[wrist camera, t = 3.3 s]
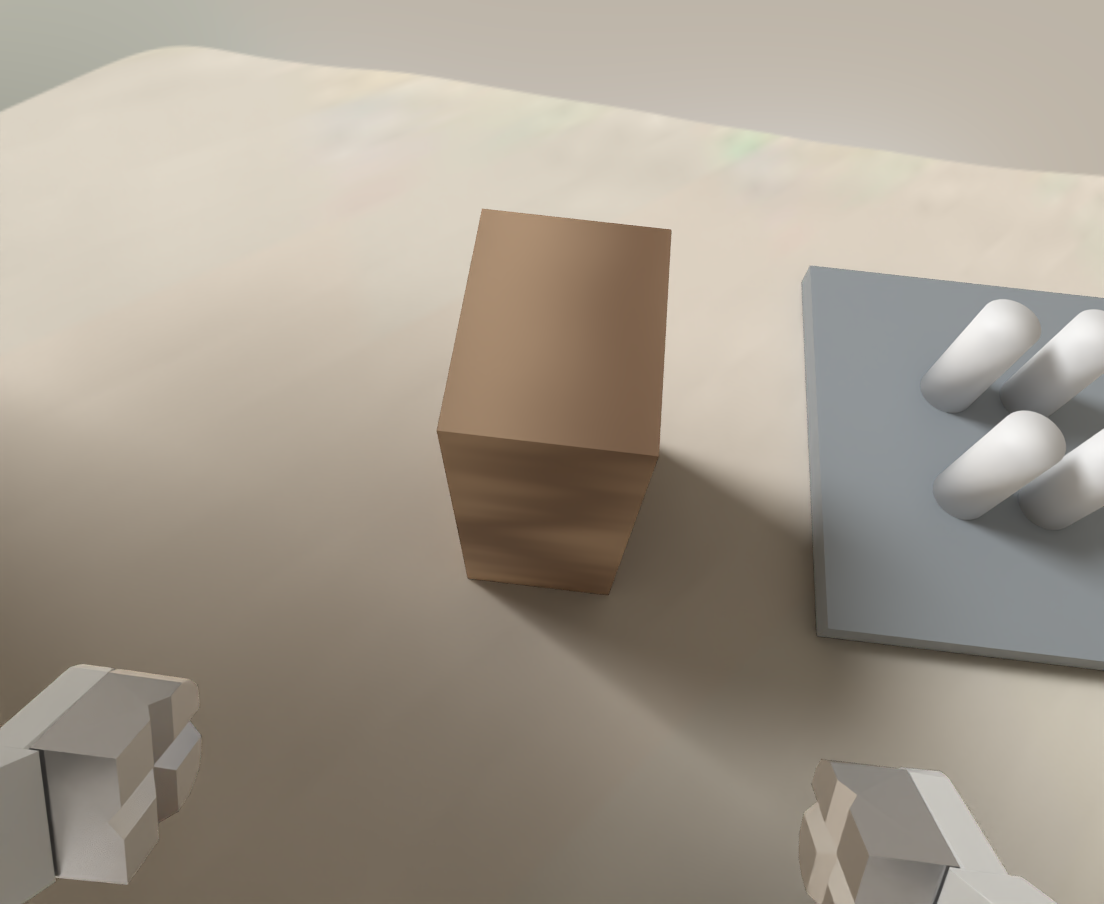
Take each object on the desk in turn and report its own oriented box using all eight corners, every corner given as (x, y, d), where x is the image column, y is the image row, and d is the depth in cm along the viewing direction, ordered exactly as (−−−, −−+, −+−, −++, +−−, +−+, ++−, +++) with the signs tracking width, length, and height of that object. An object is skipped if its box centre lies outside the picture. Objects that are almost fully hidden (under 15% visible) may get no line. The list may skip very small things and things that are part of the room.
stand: (816, 636, 24) (884, 590, 19) (801, 282, 30) (850, 186, 26) (1204, 682, 24) (1363, 647, 19) (1108, 316, 30) (1211, 225, 25)
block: (467, 578, 24) (436, 430, 15) (495, 415, 27) (481, 208, 18) (608, 594, 24) (659, 456, 15) (621, 429, 27) (671, 229, 18)
